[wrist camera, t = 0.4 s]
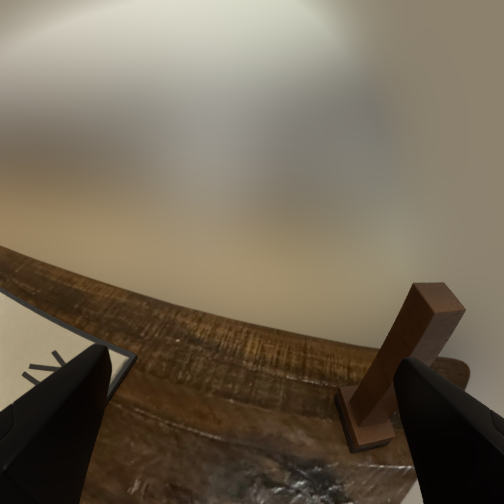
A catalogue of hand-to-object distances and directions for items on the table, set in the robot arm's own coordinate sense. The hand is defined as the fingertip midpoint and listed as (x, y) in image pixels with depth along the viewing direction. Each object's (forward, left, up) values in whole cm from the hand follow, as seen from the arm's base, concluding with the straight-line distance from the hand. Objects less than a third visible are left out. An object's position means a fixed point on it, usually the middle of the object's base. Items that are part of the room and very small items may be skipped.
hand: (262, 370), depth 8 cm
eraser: (+6, -12, -16) cm, 21 cm away
